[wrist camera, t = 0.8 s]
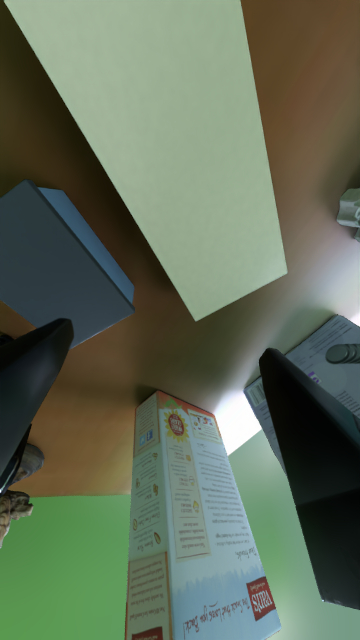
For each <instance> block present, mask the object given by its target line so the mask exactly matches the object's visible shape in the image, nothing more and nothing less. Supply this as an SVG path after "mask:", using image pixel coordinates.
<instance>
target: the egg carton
mask: <svg viewBox="0 0 360 640" xmlns="http://www.w3.org/2000/svg"><path fill="white" fill-rule="evenodd" d="M339 202H340V211H339V214H338V216H337V221H338V223H340V225H345V226H353V227H358V229H357V233H356V235H355V239H356V240H357V241H358V242H360V188H358V189H348V190H347V191H346V192H345V193H344V194H343V195H342V196H341V198H340V200H339Z"/></svg>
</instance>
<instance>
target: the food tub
mask: <svg viewBox="0 0 360 640" xmlns="http://www.w3.org/2000/svg"><path fill="white" fill-rule="evenodd" d="M133 293H134V285H133V284H132V283H131V281H130V280H129V279H128V277H127V276H126V275H125V273H124V272H123V271H122V269H121V268H120V267H119V265H118V264H117V263H116V261H115V260H114V259H113V257H112V256H111V254H110V253H109V252H108V250H107V249H106V248H105V246H104V245H103V244H102V242H101V241H100V240H99V238H98V237H97V236H96V234H95V233H94V232H93V230H92V229H91V228H90V226H89V225H88V224H87V222H86V221H85V220H84V218H83V217H82V216H81V214H80V213H79V212H78V210H77V209H76V208H75V206H74V205H73V204H72V202H71V201H70V200H69V198H68V197H67V196H66V194H65V193H64V191H63V190H57V189H48V188H40V187H37V186H36V185H35V184H34V182H33V181H32V180H27V179H24V180H23V181H22V182H20V183H19V184H18V185H16V186H15V187H14V188H13V189H11V190H10V191H9V192H7V193H6V194H5V195H3V196H2V197H1V198H0V300H2V301H3V302H4V303H5V304H7V305H8V306H9V307H11V308H12V309H13V310H15V311H16V312H17V313H18V314H20V315H21V316H22V317H24V318H25V319H26V320H28V321H29V322H30V323H32V324H33V325H34V326H35V327H37V328H39V327H41V326H44V325H46V324H48V323H50V322H52V321H54V320H56V319H58V318H67V319H71V321H72V324H73V329H74V339H73V341H72V344H71V346H70V348H69V349H71V348H73V347H74V346H76V345H78V344H80V343H82V342H83V341H85V340H87V339H89V338H90V337H92V336H94V335H96V334H98V333H99V332H101V331H103V330H105V329H106V328H108V327H110V326H112V325H113V324H115V323H117V322H119V321H121V320H122V319H124V318H126V317H128V316H129V315H131V314H133V313H135V307H134V306H133V305H132V301H133Z"/></svg>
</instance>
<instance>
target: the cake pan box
mask: <svg viewBox="0 0 360 640" xmlns="http://www.w3.org/2000/svg"><path fill="white" fill-rule="evenodd" d="M285 356H286V357H287V358H288V359H289V360H290V361H292V362H293V363H294V364H295V365H296V366H298V367H299V368H300V369H301V370H302V371H304V372H305V373H306V374H307V375H308V376H309V377H311V378H312V379H313V380H314V381H315V382H317V383H318V384H319V385H320V386H321V387H323V388H324V389H325V390H326V391H327V392H329V393H330V394H331V395H332V396H333V397H334V398H336V399H337V400H338V401H339V402H340V403H342V404H343V405H344V406H345V407H346V408H348V409H349V410H350V411H351V412H352V413H353V414H355V415H356V416H357V417H358V418H360V327H359V326H357V325H356V324H354V323H353V322H351V321H350V320H348V319H347V318H345V317H343V316H340V315H338V314H336V315H335V316H333V317H332V318H331V319H330V320H329V321H328V322H327V323H326V324H325V325H323V326H322V327H321V328H320V329H318V330H317V331H316V332H315V333H313V334H312V335H311V336H310V337H309V338H307V339H306V340H305V341H304V342H302V343H301V344H300V345H299V346H297V347H295V348H293V349H292V350H291V351H290V352H288V353H287V354H286V355H285ZM243 392H244V394H245V396H246V398H247V400H248V402H249V404H250V406H251V408H252V410H253V412H254V414H255V416H256V418H257V419H258V421H259V423H260V425H261V427H262V429H263V431H264V433H265V435H266V437H267V439H268V441H269V443H270V446H271V448H272V450H273V452H274V454H275V456H276V457H277V459H278V460H279V462H280V464H281V466H282V469H283V470H284V472H285V474H286V470H285V467H284V463H283V460H282V456H281V452H280V449H279V445H278V442H277V438H276V434H275V431H274V427H273V424H272V420H271V416H270V413H269V409H268V406H267V402H266V398H265V394H264V390H263V385H262V379H261V377H260V378H258V379H257V380H256V381H255V382H253V383H252V384H251V385H250V386H248V387H246V388H245V389H244V390H243ZM286 476H287V474H286Z"/></svg>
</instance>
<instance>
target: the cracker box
mask: <svg viewBox="0 0 360 640" xmlns="http://www.w3.org/2000/svg"><path fill="white" fill-rule="evenodd" d="M127 578H128V579H127V600H126V621H125V640H266V639H267V638H269V637H270V636H272V635H274V634H275V633H277V632H278V631H280V630H281V623H280V620H279V617H278V614H277V610H276V607H275V604H274V601H273V598H272V595H271V591H270V589H269V585H268V582H267V579H266V576H265V573H264V570H263V567H262V564H261V560H260V557H259V554H258V551H257V548H256V545H255V541H254V538H253V535H252V532H251V529H250V526H249V523H248V519H247V516H246V513H245V510H244V507H243V504H242V500H241V497H240V494H239V491H238V488H237V485H236V482H235V479H234V475H233V472H232V469H231V466H230V463H229V460H228V456H227V453H226V450H225V447H224V444H223V441H222V437H221V434H220V431H219V428H218V425H217V422H216V418H215V416H214V415H213V414H211V413H208V412H206V411H204V410H201V409H199V408H197V407H195V406H192V405H190V404H188V403H186V402H183V401H181V400H179V399H176V398H174V397H172V396H170V395H167V394H165V393H163V392H161V391H156V392H155V393H154V394H153V395H151V396H150V397H149V398H148V399H147V400H145V401H144V402H143V403H142V404H140V405H139V406H138V407H137V408H136V409H135V425H134V445H133V467H132V489H131V511H130V533H129V555H128V576H127Z"/></svg>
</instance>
